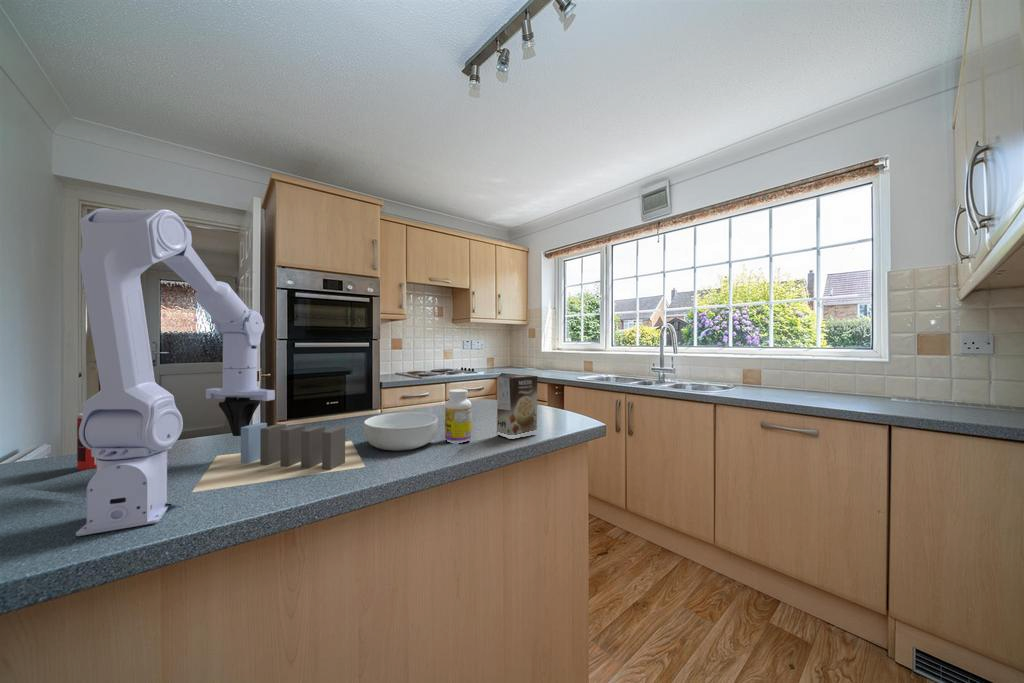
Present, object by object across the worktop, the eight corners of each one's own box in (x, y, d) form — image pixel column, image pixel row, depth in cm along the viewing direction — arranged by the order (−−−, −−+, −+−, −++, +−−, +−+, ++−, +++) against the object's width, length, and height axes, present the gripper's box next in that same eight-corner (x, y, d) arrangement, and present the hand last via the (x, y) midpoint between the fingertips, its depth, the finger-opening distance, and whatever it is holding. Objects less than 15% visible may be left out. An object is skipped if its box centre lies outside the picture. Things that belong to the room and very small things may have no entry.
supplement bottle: (443, 438, 99) (443, 389, 99) (468, 437, 101) (468, 388, 101) (446, 445, 92) (447, 392, 92) (473, 443, 94) (474, 391, 94)
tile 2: (285, 458, 78) (285, 424, 78) (268, 465, 74) (268, 429, 74) (278, 457, 79) (278, 423, 79) (260, 464, 74) (260, 428, 74)
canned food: (146, 461, 79) (146, 408, 79) (101, 475, 71) (101, 415, 71) (113, 460, 80) (113, 407, 80) (64, 473, 72) (65, 414, 72)
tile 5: (345, 462, 76) (345, 427, 76) (330, 470, 72) (330, 432, 72) (337, 462, 76) (337, 426, 76) (322, 469, 72) (322, 432, 72)
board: (365, 472, 73) (365, 466, 73) (191, 498, 61) (191, 492, 61) (351, 444, 93) (351, 440, 93) (216, 460, 80) (216, 455, 80)
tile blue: (266, 456, 79) (266, 423, 79) (248, 463, 75) (248, 427, 75) (259, 456, 80) (259, 422, 80) (240, 463, 75) (240, 427, 75)
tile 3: (305, 459, 78) (305, 425, 78) (288, 466, 73) (288, 430, 73) (297, 459, 78) (297, 424, 78) (280, 466, 74) (280, 429, 74)
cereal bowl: (352, 447, 90) (352, 417, 90) (416, 436, 102) (417, 409, 102) (382, 465, 78) (382, 430, 78) (452, 450, 89) (452, 419, 89)
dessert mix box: (511, 440, 97) (511, 377, 97) (496, 435, 102) (496, 375, 102) (537, 435, 103) (538, 375, 103) (522, 430, 108) (522, 374, 108)
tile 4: (324, 461, 77) (325, 426, 77) (309, 468, 72) (309, 431, 72) (316, 460, 77) (317, 425, 77) (301, 467, 73) (301, 430, 73)
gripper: (286, 367, 80) (286, 432, 80) (227, 366, 83) (227, 428, 83) (258, 369, 74) (258, 440, 74) (195, 368, 76) (195, 436, 76)
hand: (239, 434), depth 78 cm, fingers closed
